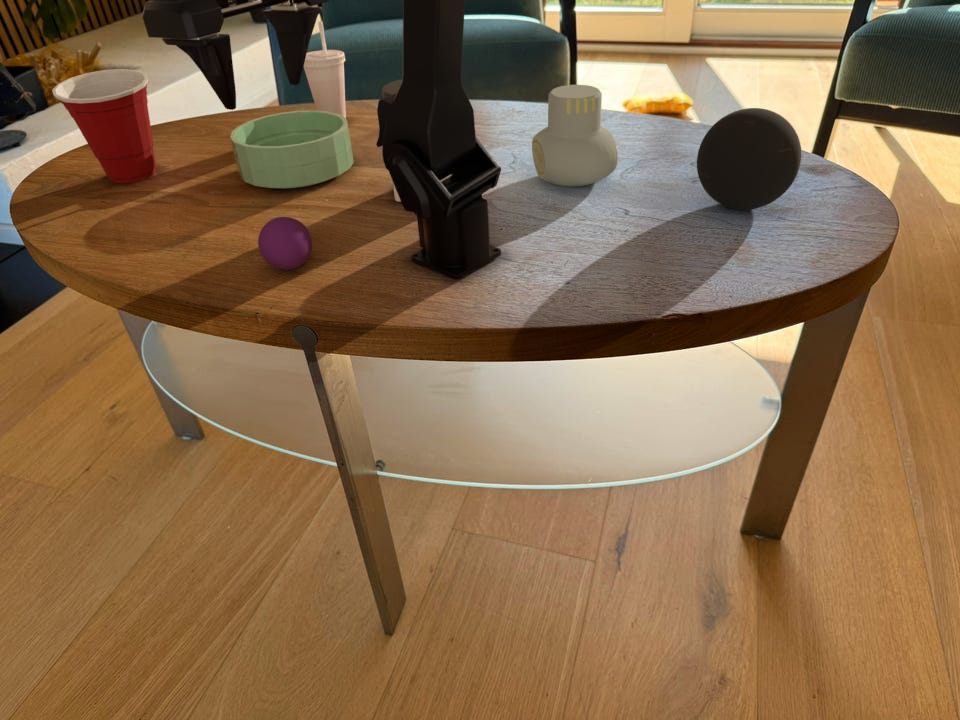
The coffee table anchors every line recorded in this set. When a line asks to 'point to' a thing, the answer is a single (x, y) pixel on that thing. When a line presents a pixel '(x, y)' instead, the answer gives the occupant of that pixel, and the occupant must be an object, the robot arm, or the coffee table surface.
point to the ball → (285, 243)
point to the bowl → (292, 149)
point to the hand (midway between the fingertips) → (264, 96)
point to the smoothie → (326, 77)
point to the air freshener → (574, 139)
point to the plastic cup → (113, 120)
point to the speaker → (749, 158)
